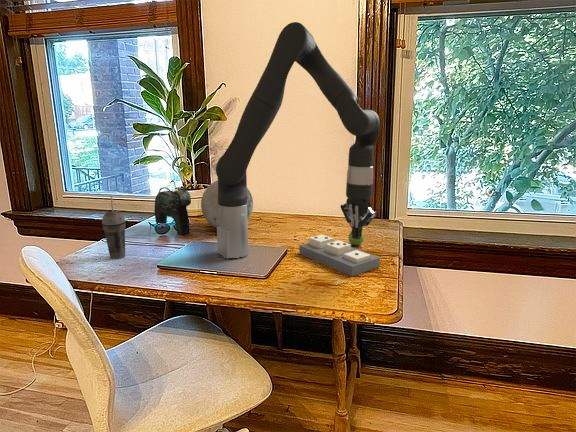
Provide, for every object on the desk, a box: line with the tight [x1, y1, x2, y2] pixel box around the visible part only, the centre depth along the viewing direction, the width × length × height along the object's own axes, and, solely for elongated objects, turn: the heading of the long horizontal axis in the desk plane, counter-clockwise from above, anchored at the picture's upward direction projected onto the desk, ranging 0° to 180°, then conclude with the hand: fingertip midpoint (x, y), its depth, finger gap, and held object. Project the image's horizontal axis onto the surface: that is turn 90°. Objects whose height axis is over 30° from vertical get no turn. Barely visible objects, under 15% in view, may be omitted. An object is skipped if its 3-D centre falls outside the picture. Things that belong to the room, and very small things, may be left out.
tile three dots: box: [326, 239, 352, 256], centre depth 139 cm, size 6×6×3 cm
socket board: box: [298, 240, 381, 277], centre depth 140 cm, size 12×24×3 cm, turn 38°
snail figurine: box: [348, 215, 365, 246], centre depth 153 cm, size 5×6×12 cm
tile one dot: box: [344, 249, 370, 264], centre depth 133 cm, size 6×6×3 cm
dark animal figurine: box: [153, 180, 192, 236], centre depth 169 cm, size 20×6×20 cm, turn 48°
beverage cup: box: [101, 195, 127, 260], centre depth 141 cm, size 7×7×20 cm
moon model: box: [200, 179, 254, 229], centre depth 170 cm, size 20×20×20 cm
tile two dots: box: [308, 234, 334, 249], centre depth 145 cm, size 6×6×3 cm
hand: (356, 238), depth 131 cm, fingers closed
